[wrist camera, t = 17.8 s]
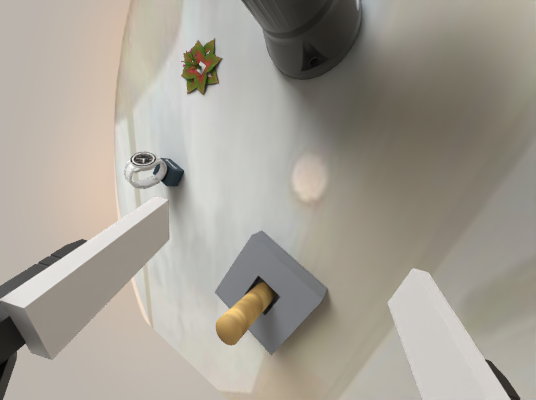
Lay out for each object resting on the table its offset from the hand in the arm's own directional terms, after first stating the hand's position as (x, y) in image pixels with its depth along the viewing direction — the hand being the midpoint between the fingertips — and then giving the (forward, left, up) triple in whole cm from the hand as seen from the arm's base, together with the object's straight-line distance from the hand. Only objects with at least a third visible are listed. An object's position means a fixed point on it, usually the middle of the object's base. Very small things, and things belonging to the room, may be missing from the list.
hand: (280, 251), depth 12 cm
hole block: (-1, -22, -27) cm, 35 cm away
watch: (-36, -18, -27) cm, 49 cm away
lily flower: (-41, +6, -28) cm, 50 cm away
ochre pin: (-1, -22, -27) cm, 34 cm away
